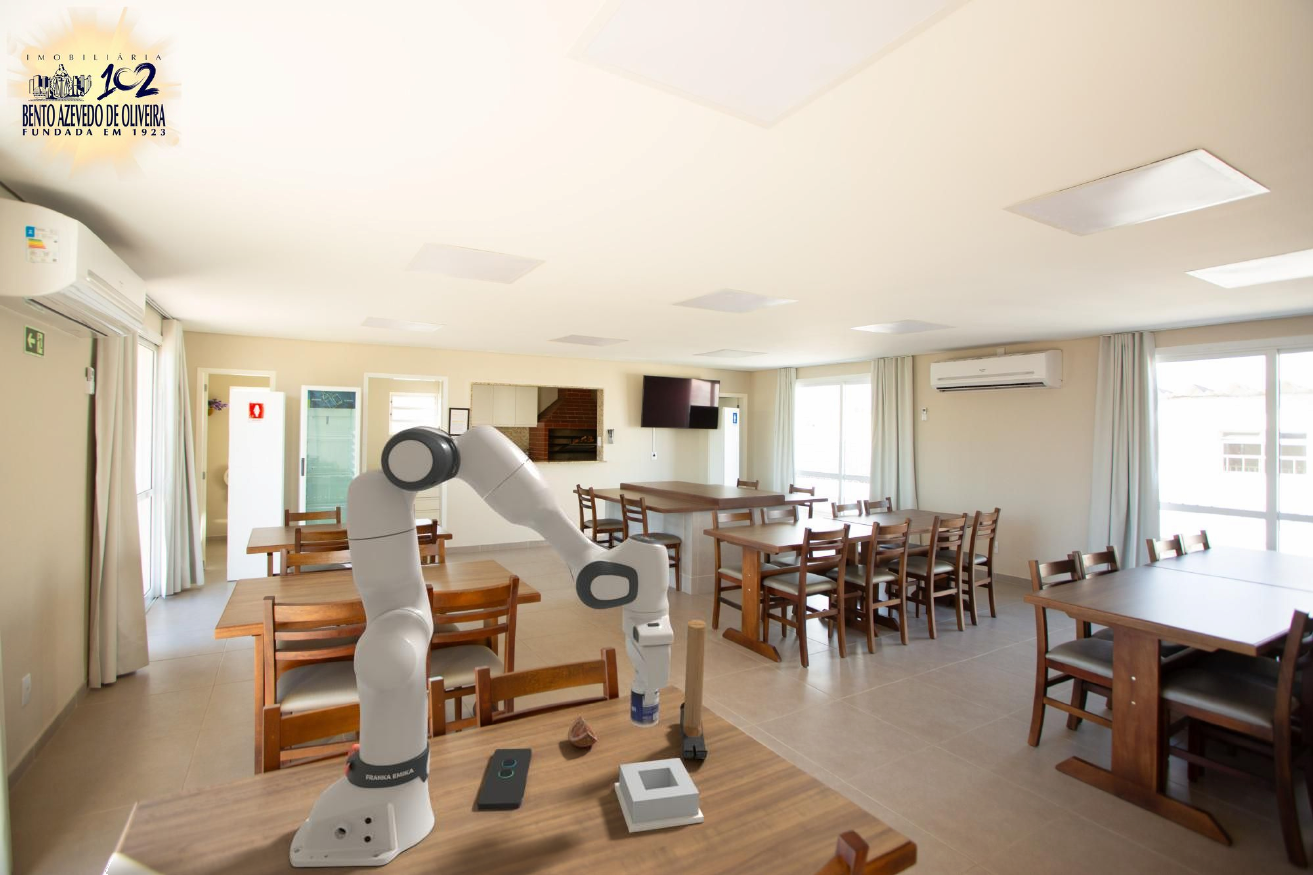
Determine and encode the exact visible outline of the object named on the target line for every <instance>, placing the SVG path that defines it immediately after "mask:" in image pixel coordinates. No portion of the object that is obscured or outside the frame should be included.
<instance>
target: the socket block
mask: <svg viewBox="0 0 1313 875" xmlns="http://www.w3.org/2000/svg"><path fill="white" fill-rule="evenodd" d="M614 791H615V793H616V797H617V799H618V802H619V805H620V809H621V812H622V814H623V818H624V820H625V824H626V826H627V830H628V832H629V833H630V834H631V833H635V832H643V831H651V830H658V829H663V828H671V827H677V826H683V825H684V826H685V825H690V824H691V825H692V824H697V823H698V824H700V823H704V822H705V821H704V820H705V819H704V818H705V817H704V815H703V812H702V811H701V809H700V802H699V801H700V792H699V789H698V788H697V787H696V785H695V783H694V782H693V780H692V778H691V776H690V775H689V772H688V771H687V769H686V768H685V766H684V764H683V761H682V760H681V758H680V757H675V758H667V759H659V760H650V761H642V762H641V761H640V762H633V763H623V764H619V780H618V782H614Z"/></svg>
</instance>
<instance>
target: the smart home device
mask: <svg viewBox="0 0 1313 875" xmlns="http://www.w3.org/2000/svg"><path fill="white" fill-rule="evenodd" d="M532 753H533V752H532V748H528V747H527V748H497V749H495V750H494V752H493V754H492V758H491V760H490V764H489V766H488V767H489V768H488V770H487V773H486V776H485V779H484V782H483V784H482V787H481V790H480V794H479V797H478V800H477V809H478V811H484V810H486V811H487V810H488V811H489V810H518V809H520V808H521V807H522V806H521V805H522V802H523V798H524V795H525V791H526V787H527V786H526V785H527V778H528V773H529V770H530V764H531V761H532V760H531V759H532Z"/></svg>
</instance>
